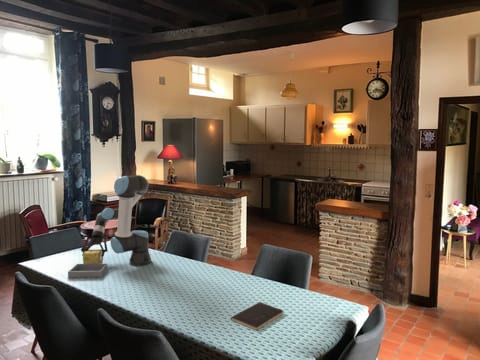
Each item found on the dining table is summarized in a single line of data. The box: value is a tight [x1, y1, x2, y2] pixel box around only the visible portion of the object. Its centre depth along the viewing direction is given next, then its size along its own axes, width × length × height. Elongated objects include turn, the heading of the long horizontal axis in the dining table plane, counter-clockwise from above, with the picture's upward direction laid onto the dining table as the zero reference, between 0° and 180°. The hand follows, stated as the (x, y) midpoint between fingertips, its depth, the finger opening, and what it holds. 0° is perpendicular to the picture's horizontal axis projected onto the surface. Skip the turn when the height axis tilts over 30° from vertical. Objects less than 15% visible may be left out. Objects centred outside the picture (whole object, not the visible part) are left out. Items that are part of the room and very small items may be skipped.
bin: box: [67, 263, 109, 280], centre depth 245 cm, size 20×15×4 cm
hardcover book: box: [230, 301, 284, 331], centre depth 188 cm, size 16×23×2 cm
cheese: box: [82, 248, 104, 264], centre depth 260 cm, size 10×11×10 cm
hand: (91, 260), depth 257 cm, fingers closed on cheese, 11 cm apart
